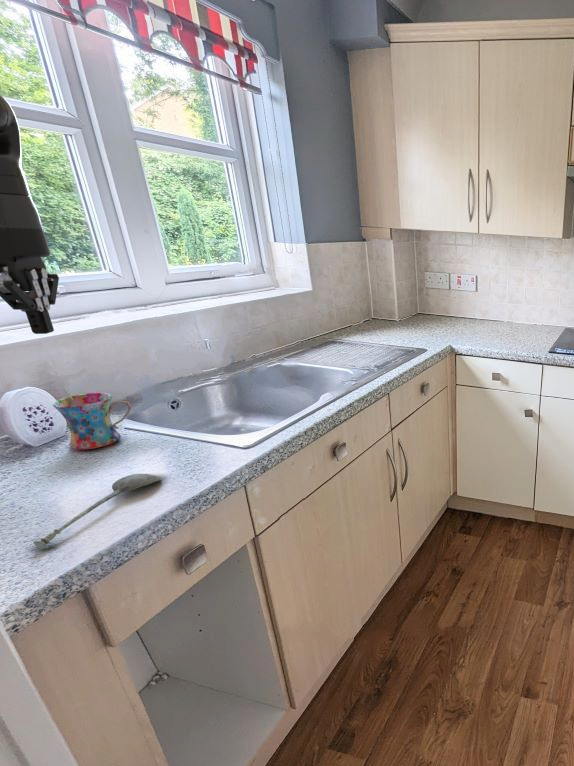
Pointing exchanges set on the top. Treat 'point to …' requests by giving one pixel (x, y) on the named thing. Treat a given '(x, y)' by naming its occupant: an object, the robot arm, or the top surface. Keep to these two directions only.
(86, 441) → the mug
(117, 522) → the top surface
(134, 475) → the soupspoon
